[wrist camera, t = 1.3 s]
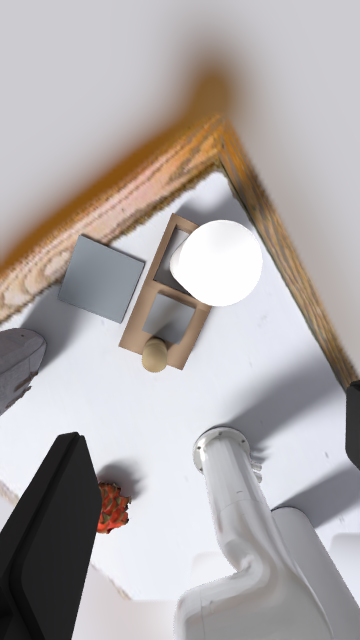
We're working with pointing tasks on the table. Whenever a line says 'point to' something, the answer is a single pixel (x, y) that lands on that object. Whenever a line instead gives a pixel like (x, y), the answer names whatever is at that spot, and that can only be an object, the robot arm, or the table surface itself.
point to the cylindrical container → (218, 263)
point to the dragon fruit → (112, 508)
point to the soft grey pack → (18, 363)
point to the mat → (100, 279)
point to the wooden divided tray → (164, 315)
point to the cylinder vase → (320, 572)
